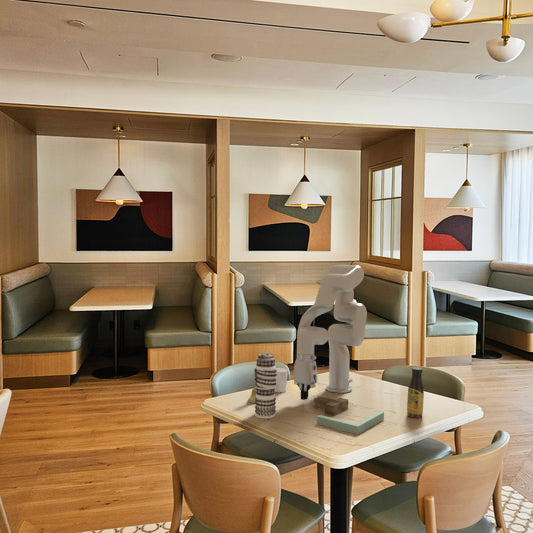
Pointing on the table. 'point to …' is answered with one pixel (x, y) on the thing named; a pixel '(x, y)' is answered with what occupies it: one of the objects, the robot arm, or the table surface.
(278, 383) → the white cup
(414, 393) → the sauce bottle
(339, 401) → the t block
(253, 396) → the hand bell
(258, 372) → the patterned stacked cylinder
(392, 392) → the table surface
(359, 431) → the corner fence
